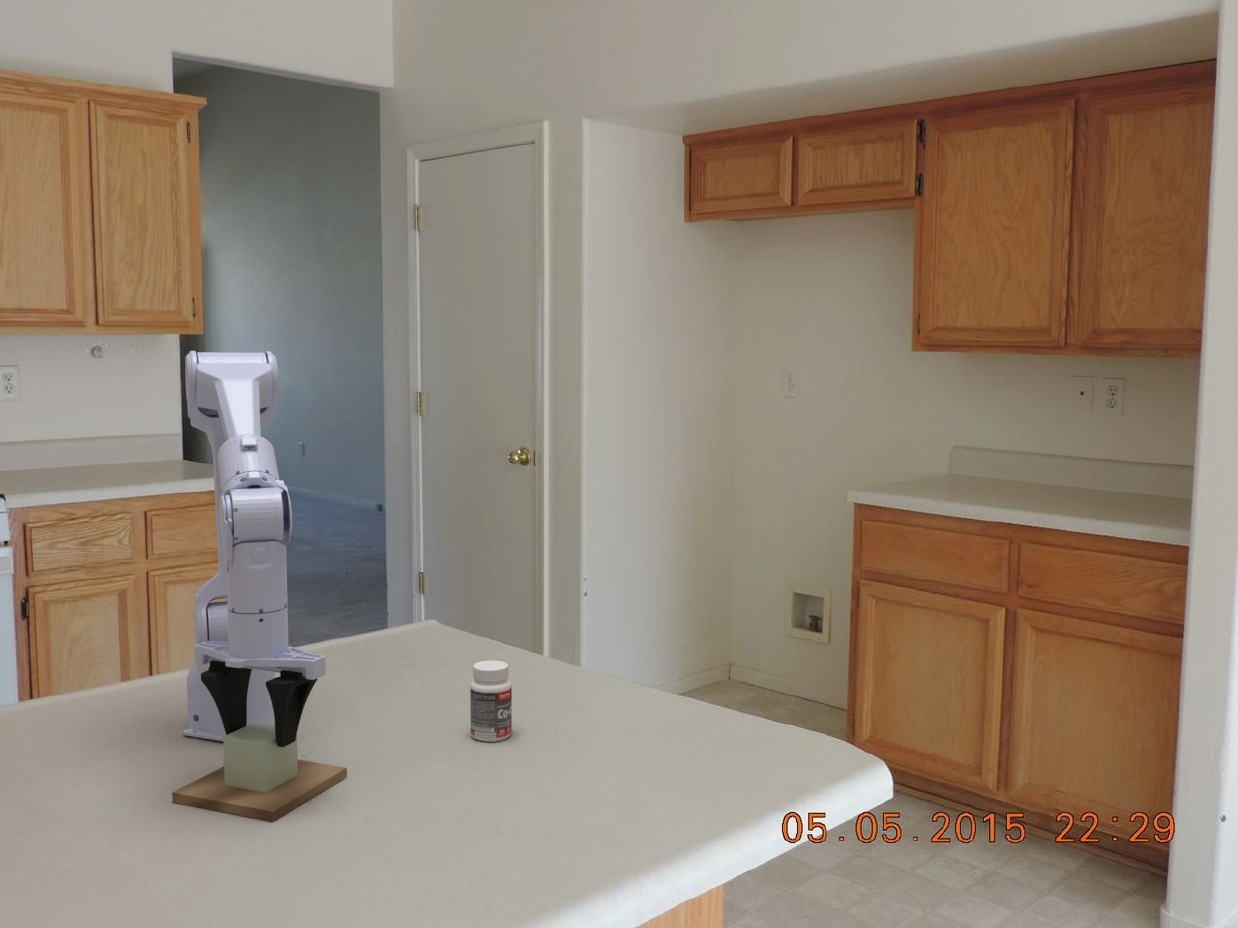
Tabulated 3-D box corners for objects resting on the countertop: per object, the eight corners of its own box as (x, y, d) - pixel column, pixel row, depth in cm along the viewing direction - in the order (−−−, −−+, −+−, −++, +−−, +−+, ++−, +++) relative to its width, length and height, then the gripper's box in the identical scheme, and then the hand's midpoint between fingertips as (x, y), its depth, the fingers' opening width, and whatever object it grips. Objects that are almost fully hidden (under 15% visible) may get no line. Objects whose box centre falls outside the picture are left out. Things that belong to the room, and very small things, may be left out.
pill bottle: (504, 744, 128) (504, 672, 127) (464, 740, 129) (464, 669, 128) (516, 730, 133) (516, 660, 132) (478, 727, 134) (478, 658, 133)
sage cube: (224, 784, 113) (223, 736, 113) (258, 767, 118) (256, 720, 117) (265, 792, 111) (264, 743, 111) (297, 774, 116) (296, 727, 115)
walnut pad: (172, 801, 111) (172, 792, 111) (253, 760, 122) (252, 751, 122) (272, 821, 107) (272, 811, 107) (346, 776, 118) (346, 767, 118)
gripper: (170, 609, 112) (175, 742, 113) (292, 623, 106) (295, 763, 108) (220, 594, 118) (223, 720, 120) (337, 607, 113) (339, 739, 114)
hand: (261, 739), depth 114 cm, fingers open, 6 cm apart
